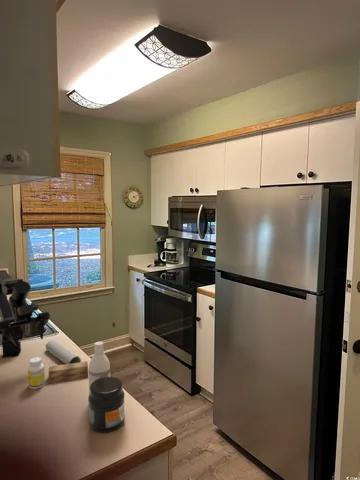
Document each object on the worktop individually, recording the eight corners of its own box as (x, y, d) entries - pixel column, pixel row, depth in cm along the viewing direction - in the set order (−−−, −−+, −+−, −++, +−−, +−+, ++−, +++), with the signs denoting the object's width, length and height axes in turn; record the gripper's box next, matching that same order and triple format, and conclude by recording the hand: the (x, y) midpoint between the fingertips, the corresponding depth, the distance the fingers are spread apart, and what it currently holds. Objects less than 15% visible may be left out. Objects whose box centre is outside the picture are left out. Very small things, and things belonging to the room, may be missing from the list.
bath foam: (109, 406, 107) (107, 347, 105) (87, 407, 107) (85, 347, 105) (112, 394, 114) (111, 338, 112) (92, 395, 114) (90, 339, 112)
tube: (41, 343, 148) (66, 361, 130) (52, 336, 151) (78, 353, 133) (46, 353, 149) (71, 372, 131) (56, 346, 153) (83, 364, 135)
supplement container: (131, 425, 98) (130, 386, 97) (97, 439, 92) (95, 398, 91) (116, 407, 107) (115, 372, 106) (84, 419, 101) (82, 382, 100)
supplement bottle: (29, 382, 122) (28, 357, 121) (45, 380, 123) (44, 355, 122) (28, 390, 117) (26, 364, 116) (44, 387, 118) (43, 361, 117)
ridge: (48, 383, 121) (48, 372, 121) (49, 375, 127) (49, 365, 127) (88, 377, 126) (88, 367, 125) (87, 369, 131) (87, 360, 131)
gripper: (-4, 300, 121) (6, 339, 114) (47, 292, 134) (59, 325, 127) (-8, 316, 128) (1, 353, 121) (41, 306, 140) (52, 339, 133)
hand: (29, 342), depth 125 cm, fingers open, 9 cm apart
